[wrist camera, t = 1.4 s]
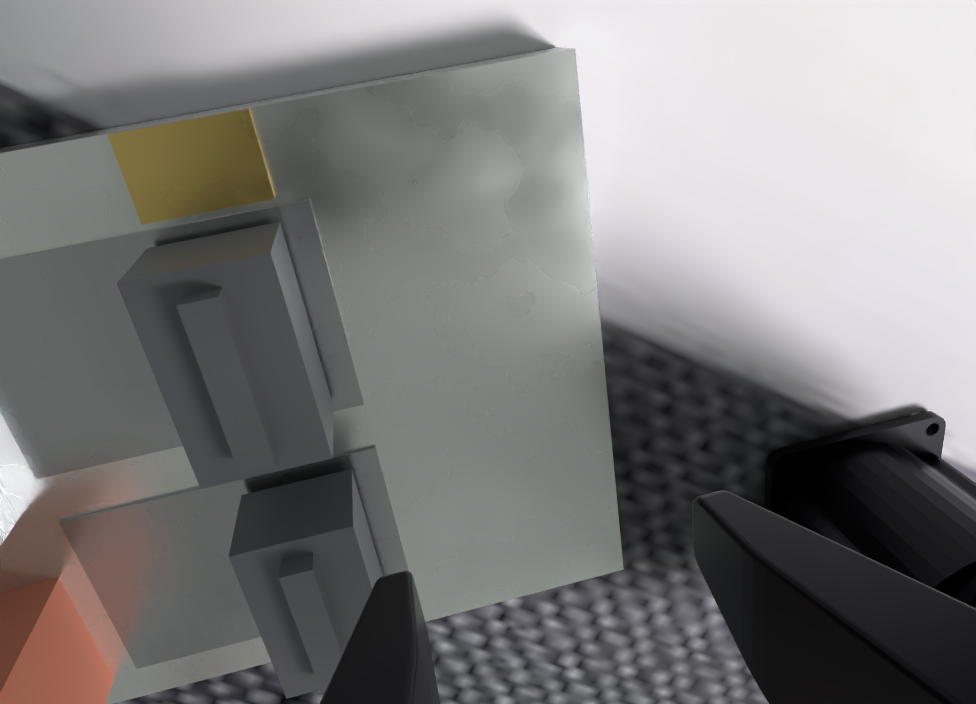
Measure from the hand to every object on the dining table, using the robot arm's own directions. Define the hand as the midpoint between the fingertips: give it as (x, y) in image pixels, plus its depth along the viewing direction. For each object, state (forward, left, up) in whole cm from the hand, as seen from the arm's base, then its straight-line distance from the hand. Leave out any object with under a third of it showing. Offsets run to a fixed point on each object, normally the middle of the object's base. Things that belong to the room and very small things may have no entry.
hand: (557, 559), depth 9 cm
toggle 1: (+5, 0, -10) cm, 11 cm away
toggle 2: (+5, +7, -10) cm, 13 cm away
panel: (+8, +3, -12) cm, 15 cm away
